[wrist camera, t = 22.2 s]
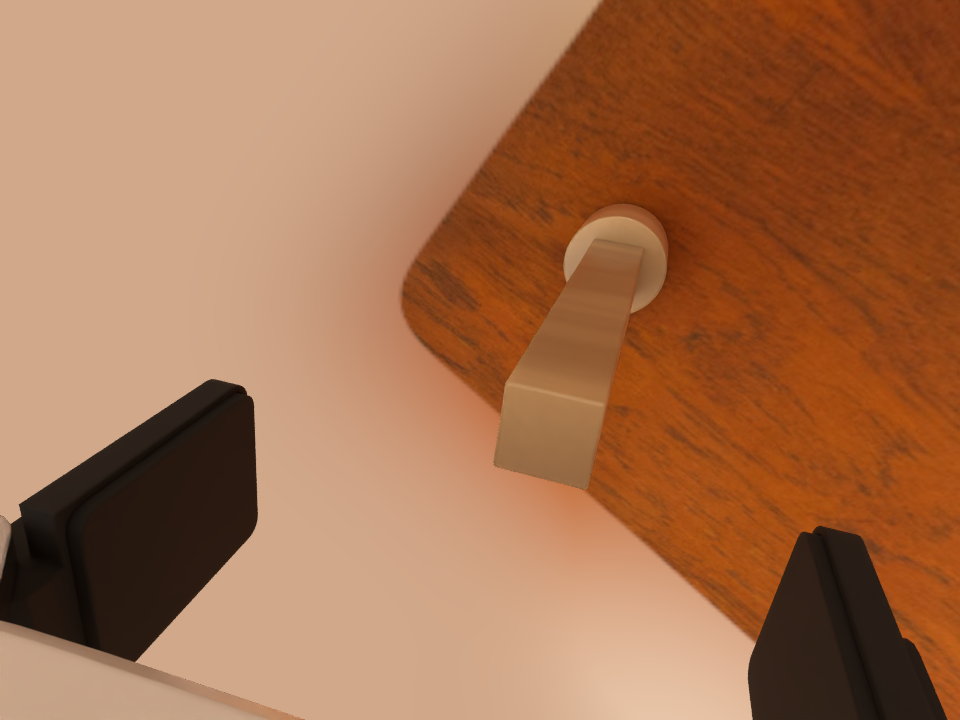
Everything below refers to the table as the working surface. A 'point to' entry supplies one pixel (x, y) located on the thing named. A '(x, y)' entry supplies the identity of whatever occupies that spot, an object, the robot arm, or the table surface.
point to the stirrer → (580, 347)
